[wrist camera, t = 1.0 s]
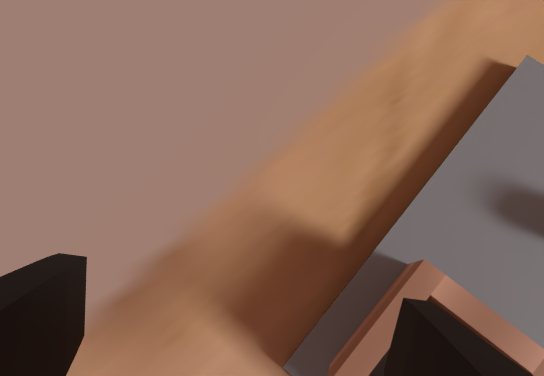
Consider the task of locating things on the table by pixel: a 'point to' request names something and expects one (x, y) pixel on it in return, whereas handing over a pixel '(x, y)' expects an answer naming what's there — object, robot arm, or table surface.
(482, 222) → the pin plate
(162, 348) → the table surface
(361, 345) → the hollow square block
